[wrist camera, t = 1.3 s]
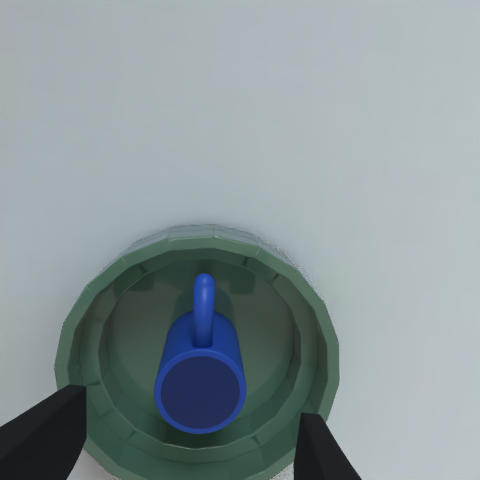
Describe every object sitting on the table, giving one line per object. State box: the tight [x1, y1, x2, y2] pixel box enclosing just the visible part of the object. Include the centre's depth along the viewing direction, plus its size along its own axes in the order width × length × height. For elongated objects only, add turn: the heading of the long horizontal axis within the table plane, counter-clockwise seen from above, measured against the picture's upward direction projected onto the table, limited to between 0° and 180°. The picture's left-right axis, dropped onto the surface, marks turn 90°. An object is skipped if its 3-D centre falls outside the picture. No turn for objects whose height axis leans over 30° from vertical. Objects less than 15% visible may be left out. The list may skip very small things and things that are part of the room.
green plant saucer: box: [54, 224, 339, 480], centre depth 21 cm, size 13×13×4 cm
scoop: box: [154, 273, 247, 434], centre depth 20 cm, size 7×4×5 cm, turn 177°
